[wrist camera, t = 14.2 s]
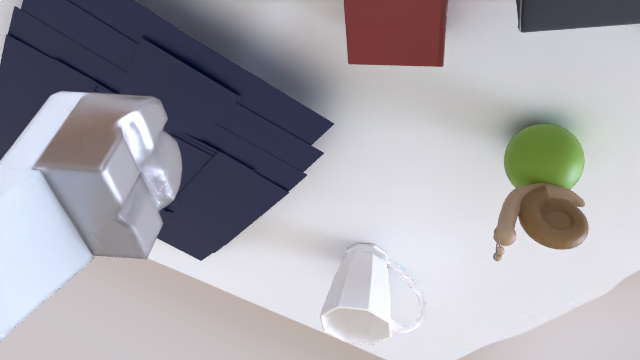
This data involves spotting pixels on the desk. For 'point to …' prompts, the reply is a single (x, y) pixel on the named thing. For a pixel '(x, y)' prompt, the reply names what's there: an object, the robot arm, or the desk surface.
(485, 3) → the desk surface
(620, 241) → the desk surface
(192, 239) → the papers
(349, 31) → the pocket dictionary
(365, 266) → the cup
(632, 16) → the small box
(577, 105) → the desk surface
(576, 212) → the snail figurine
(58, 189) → the robot arm
